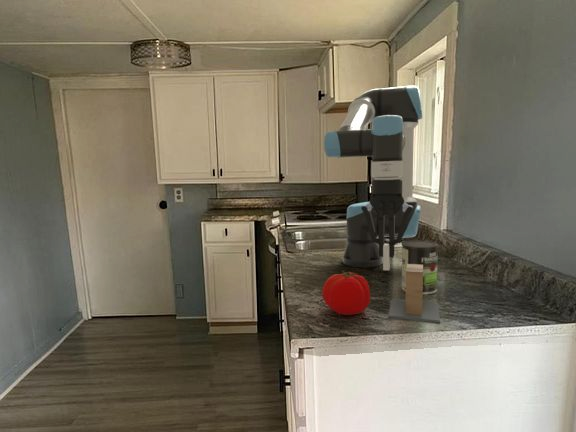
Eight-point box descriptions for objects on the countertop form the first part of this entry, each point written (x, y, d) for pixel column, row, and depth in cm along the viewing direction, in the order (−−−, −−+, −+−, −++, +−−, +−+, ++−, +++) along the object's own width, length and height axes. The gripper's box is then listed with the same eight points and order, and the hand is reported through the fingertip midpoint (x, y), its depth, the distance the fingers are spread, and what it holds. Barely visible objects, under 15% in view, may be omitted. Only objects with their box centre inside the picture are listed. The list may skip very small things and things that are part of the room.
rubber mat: (392, 300, 106) (392, 298, 106) (438, 304, 102) (438, 302, 102) (388, 317, 95) (388, 315, 95) (439, 322, 91) (439, 320, 91)
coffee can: (444, 290, 113) (446, 244, 111) (419, 297, 108) (420, 249, 106) (418, 281, 122) (419, 238, 120) (394, 287, 117) (394, 242, 115)
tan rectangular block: (406, 303, 102) (407, 263, 101) (422, 304, 101) (423, 264, 99) (405, 313, 96) (405, 271, 94) (422, 314, 94) (422, 272, 93)
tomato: (371, 322, 92) (371, 281, 91) (321, 321, 94) (320, 280, 93) (369, 302, 105) (369, 265, 104) (324, 301, 107) (324, 265, 106)
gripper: (358, 179, 95) (359, 271, 98) (413, 178, 90) (412, 274, 93) (363, 178, 102) (363, 263, 105) (414, 177, 97) (413, 266, 100)
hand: (386, 268), depth 99 cm, fingers closed
